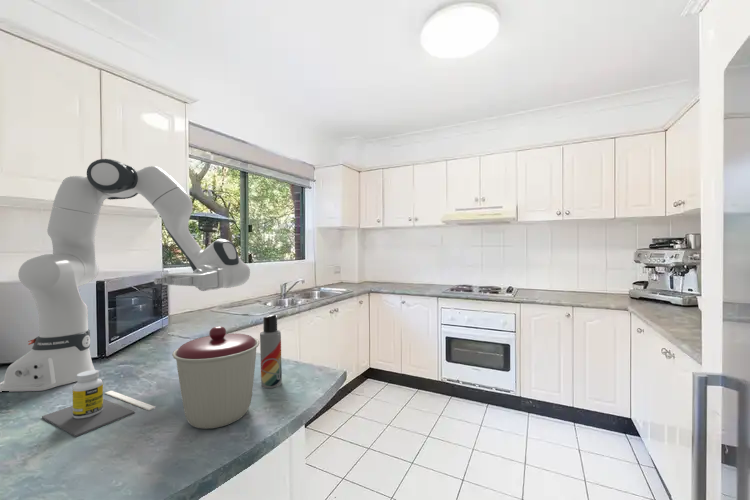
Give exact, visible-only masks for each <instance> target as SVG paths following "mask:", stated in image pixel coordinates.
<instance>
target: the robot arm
mask: <svg viewBox="0 0 750 500" xmlns="http://www.w3.org/2000/svg"><path fill="white" fill-rule="evenodd" d="M138 194H139V195H141V196H142V197H143V198H145V200H147V202H148V203H149V204H151V206H152V207H153V208H154V209H155V211H156V212H157V213H158V214H159V217H160V218H161V220H162V222H163V225H164V228H165V229H164V230H166V232H167V234H168V235H169V236H170V238H171V239H172V240H173V242H174V243H175V245H176V246H177V247H178V249H179V250H180V251H181V253H182V254H183V255H184V257H185V258H186V260H187V261H188V263H189V266H190V267H191V270H192V272H172V273H171V272H170V273H164V274H163V275H162V277H161V276H160V277H155V278H154V279H153V284H155V285H160V284H161V285H164V286H182V287H195V289H196V288H197V289H198V291H200V292H205V291H207V292H208V291H215V290H220V289H231V288H235V287H240V286H243V285H244V284H246V283H247V282H248V280H249V279H250V277H251V276H250V275H251V269H250V267H249V265H248V264H246V263H245V262H244V261H243V260H242V259H241V258H240V256H239V254H238V250H237V248H236V246H235V244H234V243H233V242H231V241H230V240H228V239H225V238H218V239H216V240H215V241H213V242H212V243H210V244H209V245H207V246H206V248H204V249H202V247H201V246H200V245H199V243H198V242H197V240H196V238H194V236H193V235H192V234H191V232H190V229H189V222H190V218H191V215H192V212H193V208H194V207H193V201H192V199H191V197H190V196H189V194H188V193H187V192H186V190H185V189H184V188H183V187H182V186H181V185H180V184H179V183H178V182H177V181H176V180H175V179H174V178H173V177H172V176H171V175H169V174H168V173H167V172H166V171H165V170H163V169H162V168H161V167H159V166H153V165H150V166H146V167H143V168H141V169H140V170H136V169H135V168H134V167H132V166H130V165H128V164H125V163H123V162H121V161H119V160H114V159H111V158H101V159H96V160H94V161H92V162H91V163H90V164H89V166H88V167H87V169H86V176H81V175H73V176H71V175H70V176H67V177H66V178H64V179H63V181H62V182H61V184H60V185H59V187H58V189H57V191H56V195H55V197H54V200H53V203H52V209H51V212H50V216H49V221H48V226H47V229H46V230H47V231H46V232H47V234H48V236H49V237H50V240H51V245H52V253H46V254H42V255H41V254H40V255H37V256H35V257H33V258H30V259H28V260H26V261H25V262H23V263H22V264H21V266H20V267H19V269H18V279H19V281H20V283H21V284H22V286H24V287H25V288H27V289H28V290H29V291H30V293H31V295H32V298H33V300H34V302H35V305H36V309H37V315H38V316H37V317H38V336H36V337H35V338H34V339H31V340H28V341H27V345H28V346H29V345H33V346H32V348H31V350H29V351H28V352H27V353H25V354H24V355H22V356H21V357H19V358H18V359H17V360H15V361H14V362H12V363H11V364H10V365H9V366H8V367H7V368H6V371H5V374H4V380H3V381H1V382H0V393H3V392H2V391H9V393H10V392H32V391H33V392H35V391H36V392H37V391H46V390H49V389H53V388H56V387H59V386H64V385H68V384H72V383H75V382H77V374H79V373H81V372H85V371H90V370H96V369H95V366H94V364H93V361H92V356H91V350H90V346H91V330H90V329H89V316H88V314H89V312H88V308H89V307H88V305H87V304H86V302H84V300H83V299H82V296H81V293H80V291H79V290H80V289H79V287H82V286H85V285H87V284H88V283H90V282H92V281H94V280H95V279H96V277H97V276H98V275H99V271H100V267H99V264H98V262H97V260H96V251H95V250H96V246H95V241H96V239H95V238H96V232H97V228H98V223H99V217H100V215H101V214H100V212H101V208H102V206H103V203H104V201H106V199H107V200H110V201H111V200H126V199H128V200H129V199H132V198H135V197H136V196H137V195H138ZM28 342H29V343H28Z"/></svg>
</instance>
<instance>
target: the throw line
mask: <svg viewBox="0 0 750 500" xmlns="http://www.w3.org/2000/svg"><path fill="white" fill-rule="evenodd" d="M104 394H105V395H108V396H109V397H112V398H115V399H117V400H121V401H122V402H123V401H124V402H126V403H128V404H130V405H134V406H135V407H139V408H141V409H144V410H147V411H148V412H149V411H151V410H155V409H156V406H155V405H151V404H149V403H147V402H143V401H141V400H139V399H135V398H133V397H130V396H129V395H128V396H127V395H124V394H122V393H120V392H117V391H114V390H109V391H106V392H104Z"/></svg>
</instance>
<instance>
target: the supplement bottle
mask: <svg viewBox="0 0 750 500" xmlns="http://www.w3.org/2000/svg"><path fill="white" fill-rule="evenodd" d="M99 377H100V371H99V369H95V370H90V371H85V372H81V373H79V374H77V381H76V382H77V383H74V385H73V386H72V406H73V417H74V418H76V419H82V418H87V417H91V416H94V415H96V414H98V413H100V412H101V411H102V410H103V399H104V386H103V385H104V383H103V382H104V381H103V380H102V379H101V378H99Z"/></svg>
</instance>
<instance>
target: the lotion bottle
mask: <svg viewBox="0 0 750 500" xmlns="http://www.w3.org/2000/svg"><path fill="white" fill-rule="evenodd" d="M262 322H263V324H262V327H263V331H261V332H260V334H259V350H260V353H259V355H260V356H259V357H260V384H261V387H262V388H263V389H273V388H277V387H279V386H281V384H283V383H282V382H283V381H282V379H283V377H282V376H283V375H282V373H283V372H282V371H283V370H282V332H281V330H279V329H278V316H277V315H276V314H271V315H267V316H264V317H263V318H262Z"/></svg>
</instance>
